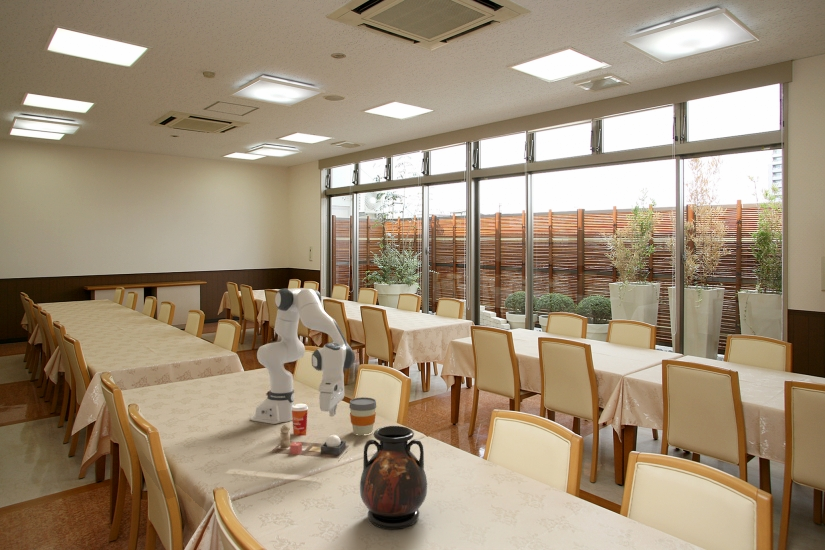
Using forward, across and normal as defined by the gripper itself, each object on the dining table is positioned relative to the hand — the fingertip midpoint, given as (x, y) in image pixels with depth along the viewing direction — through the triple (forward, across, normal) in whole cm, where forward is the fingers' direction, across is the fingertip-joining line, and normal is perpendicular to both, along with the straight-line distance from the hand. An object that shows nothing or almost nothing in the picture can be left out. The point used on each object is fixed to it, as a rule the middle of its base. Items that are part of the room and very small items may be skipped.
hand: (332, 415), depth 223 cm
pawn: (+15, 0, -21) cm, 26 cm away
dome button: (+14, 0, +1) cm, 14 cm away
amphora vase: (+16, +46, +37) cm, 61 cm away
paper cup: (+17, -18, -22) cm, 33 cm away
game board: (+17, 0, -10) cm, 19 cm away
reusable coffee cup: (+17, -28, +5) cm, 33 cm away
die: (+15, +5, -14) cm, 21 cm away
